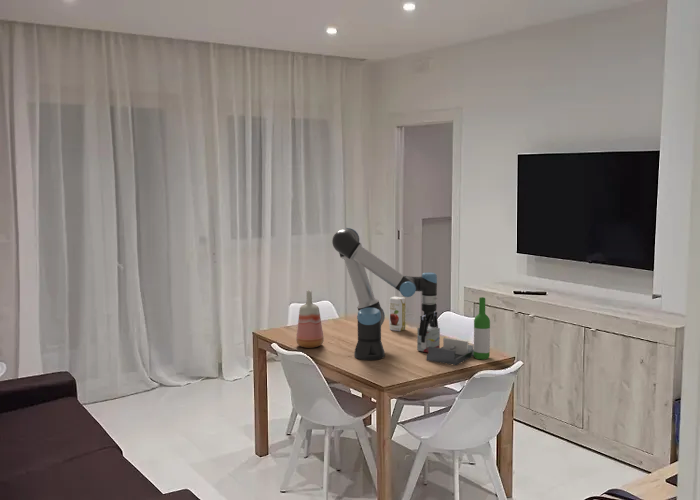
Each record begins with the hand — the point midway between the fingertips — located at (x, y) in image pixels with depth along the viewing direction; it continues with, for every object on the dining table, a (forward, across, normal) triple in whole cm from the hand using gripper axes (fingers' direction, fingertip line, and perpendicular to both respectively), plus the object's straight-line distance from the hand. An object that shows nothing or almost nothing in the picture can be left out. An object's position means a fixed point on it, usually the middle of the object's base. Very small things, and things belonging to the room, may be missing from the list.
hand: (428, 346), depth 339 cm
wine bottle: (+2, +3, -28) cm, 28 cm away
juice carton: (+3, +30, +36) cm, 47 cm away
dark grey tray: (+2, -5, -15) cm, 16 cm away
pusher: (+1, -2, -15) cm, 15 cm away
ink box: (+2, 0, 0) cm, 2 cm away
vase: (+3, -26, +57) cm, 62 cm away
